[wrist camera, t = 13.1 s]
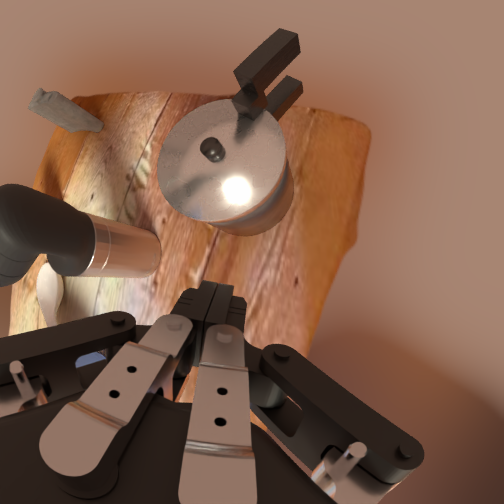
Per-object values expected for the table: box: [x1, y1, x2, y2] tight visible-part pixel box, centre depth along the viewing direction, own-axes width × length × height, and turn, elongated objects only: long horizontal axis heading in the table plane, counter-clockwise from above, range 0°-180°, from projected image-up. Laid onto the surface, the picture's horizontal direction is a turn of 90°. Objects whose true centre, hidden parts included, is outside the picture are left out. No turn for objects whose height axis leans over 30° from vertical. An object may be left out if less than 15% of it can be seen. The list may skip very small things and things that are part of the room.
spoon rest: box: [37, 262, 64, 327], centre depth 51 cm, size 24×12×7 cm, turn 40°
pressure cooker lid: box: [157, 28, 301, 223], centre depth 29 cm, size 25×17×8 cm, turn 143°
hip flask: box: [28, 88, 104, 133], centre depth 49 cm, size 16×4×20 cm, turn 72°
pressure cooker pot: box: [206, 75, 303, 236], centre depth 39 cm, size 24×16×13 cm, turn 142°
